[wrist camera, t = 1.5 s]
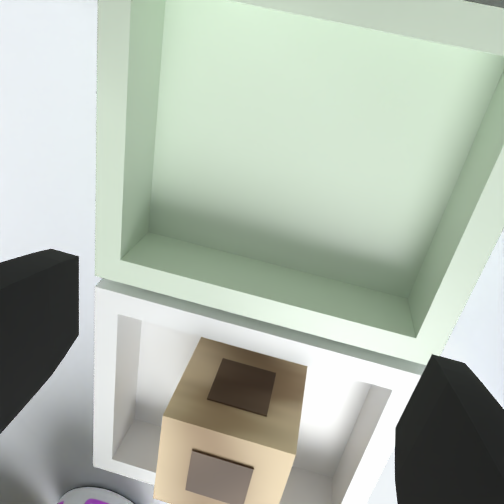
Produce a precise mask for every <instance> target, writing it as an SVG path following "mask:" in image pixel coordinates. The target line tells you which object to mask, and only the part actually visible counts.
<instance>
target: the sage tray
mask: <svg viewBox="0 0 504 504" xmlns="http://www.w3.org/2000/svg"><path fill="white" fill-rule="evenodd" d="M503 229H504V8H501V7H495V6H490V5H485V4H480V3H475V2H469V1H464V0H98V23H97V120H96V217H95V276H97V277H101V278H105V279H109V280H112V281H116V282H120V283H123V284H127V285H131V286H134V287H138V288H142V289H146V290H149V291H153V292H157V293H160V294H164V295H168V296H171V297H175V298H179V299H183V300H186V301H190V302H194V303H197V304H201V305H205V306H208V307H212V308H216V309H220V310H223V311H227V312H231V313H234V314H238V315H242V316H245V317H249V318H253V319H257V320H260V321H264V322H268V323H271V324H275V325H279V326H282V327H286V328H290V329H294V330H297V331H301V332H305V333H308V334H312V335H316V336H319V337H323V338H327V339H331V340H334V341H338V342H342V343H345V344H349V345H353V346H356V347H360V348H364V349H368V350H371V351H375V352H379V353H382V354H386V355H390V356H393V357H397V358H401V359H405V360H408V361H412V362H416V363H419V364H423V365H427V363H428V361H429V359H430V357H431V355H432V354H433V355H437V356H440V355H441V353H442V351H443V349H444V347H445V345H446V343H447V341H448V339H449V337H450V335H451V333H452V331H453V329H454V327H455V325H456V323H457V321H458V319H459V317H460V315H461V313H462V311H463V309H464V307H465V305H466V303H467V301H468V299H469V297H470V295H471V293H472V291H473V289H474V287H475V285H476V283H477V281H478V279H479V277H480V275H481V273H482V271H483V269H484V267H485V265H486V263H487V261H488V259H489V257H490V255H491V253H492V251H493V249H494V247H495V245H496V243H497V241H498V239H499V237H500V235H501V233H502V231H503Z"/></svg>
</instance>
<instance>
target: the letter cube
mask: <svg viewBox="0 0 504 504" xmlns="http://www.w3.org/2000/svg"><path fill="white" fill-rule="evenodd" d="M306 374H307V366H304V365H301V364H297V363H294V362H290V361H286V360H283V359H279V358H276V357H272V356H268V355H265V354H261V353H258V352H254V351H250V350H247V349H243V348H240V347H236V346H232V345H229V344H225V343H222V342H218V341H214V340H211V339H207V338H204V337H201V338H200V340H199V343H198V345H197V347H196V349H195V351H194V353H193V355H192V357H191V359H190V361H189V363H188V365H187V367H186V369H185V371H184V373H183V375H182V377H181V379H180V381H179V383H178V385H177V387H176V389H175V391H174V393H173V396H172V398H171V400H170V402H169V404H168V406H167V408H166V410H165V412H164V414H163V417H162V426H161V434H160V443H159V451H158V460H157V468H156V477H155V485H154V494H153V498H154V499H158V500H161V501H164V502H167V503H170V504H279V503H280V500H281V497H282V494H283V491H284V488H285V486H286V483H287V480H288V477H289V474H290V471H291V468H292V465H293V462H294V459H295V456H296V451H297V443H298V435H299V428H300V420H301V412H302V405H303V397H304V389H305V382H306Z"/></svg>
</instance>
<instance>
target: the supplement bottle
mask: <svg viewBox="0 0 504 504" xmlns="http://www.w3.org/2000/svg"><path fill="white" fill-rule="evenodd" d="M57 504H133V503H132V502H131V501H129V500H128V499H126V498H125V497H123V496H121V495H119V494H117V493H115V492H112V491H109V490H106V489H102V488H96V487H82V488H76V489H73V490H71V491H69V492H67V493H66V494H64V495H63V496H62V497H61V498H60V500H59V501H58V503H57Z"/></svg>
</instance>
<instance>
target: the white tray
mask: <svg viewBox="0 0 504 504" xmlns="http://www.w3.org/2000/svg"><path fill="white" fill-rule="evenodd" d="M201 337H204V338H207V339H211V340H214V341H218V342H222V343H225V344H229V345H232V346H236V347H240V348H243V349H247V350H250V351H254V352H258V353H261V354H265V355H268V356H272V357H276V358H279V359H283V360H286V361H290V362H294V363H297V364H301V365H304V366H307V374H306V382H305V389H304V397H303V405H302V412H301V420H300V428H299V435H298V443H297V451H296V456H295V459H294V462H293V465H292V468H291V471H290V474H289V477H288V480H287V483H286V486H285V488H284V491H283V494H282V497H281V500H280V503H279V504H366V503H367V501H368V499H369V497H370V495H371V493H372V491H373V489H374V487H375V485H376V483H377V481H378V479H379V477H380V475H381V473H382V471H383V469H384V467H385V465H386V463H387V461H388V459H389V457H390V455H391V453H392V451H393V449H394V447H395V427H396V425H397V423H398V421H399V419H400V417H401V415H402V413H403V411H404V409H405V407H406V405H407V403H408V401H409V399H410V397H411V395H412V393H413V391H414V389H415V387H416V385H417V383H418V381H419V379H420V377H421V375H422V373H423V371H424V369H425V367H426V365H423V364H419V363H416V362H412V361H408V360H405V359H401V358H397V357H393V356H390V355H386V354H382V353H379V352H375V351H371V350H368V349H364V348H360V347H356V346H353V345H349V344H345V343H342V342H338V341H334V340H331V339H327V338H323V337H319V336H316V335H312V334H308V333H305V332H301V331H297V330H294V329H290V328H286V327H282V326H279V325H275V324H271V323H268V322H264V321H260V320H257V319H253V318H249V317H245V316H242V315H238V314H234V313H231V312H227V311H223V310H220V309H216V308H212V307H208V306H205V305H201V304H197V303H194V302H190V301H186V300H183V299H179V298H175V297H171V296H168V295H164V294H160V293H157V292H153V291H149V290H146V289H142V288H138V287H134V286H131V285H127V284H123V283H120V282H116V281H112V280H109V279H105V278H103V279H102V280H101V281H100V282H99V283H98V284H97V285H96V286H95V315H94V412H93V467H97V468H100V469H103V470H106V471H109V472H113V473H116V474H119V475H122V476H125V477H129V478H132V479H135V480H138V481H141V482H145V483H148V484H151V485H155V477H156V468H157V460H158V451H159V443H160V434H161V426H162V417H163V414H164V412H165V410H166V408H167V406H168V404H169V402H170V400H171V398H172V396H173V393H174V391H175V389H176V387H177V385H178V383H179V381H180V379H181V377H182V375H183V373H184V371H185V369H186V367H187V365H188V363H189V361H190V359H191V357H192V355H193V353H194V351H195V349H196V347H197V345H198V343H199V340H200V338H201Z"/></svg>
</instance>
